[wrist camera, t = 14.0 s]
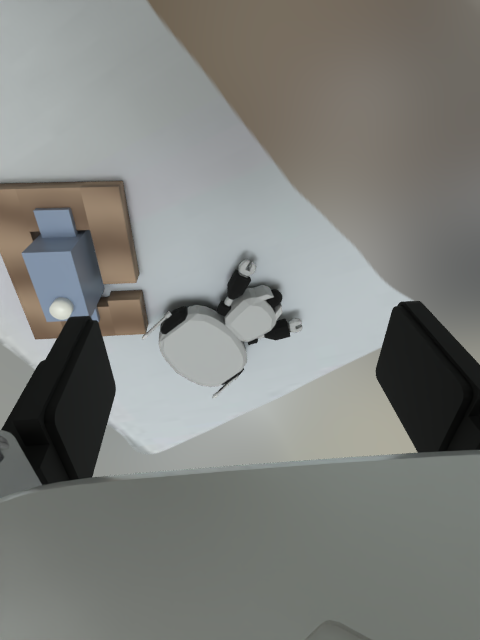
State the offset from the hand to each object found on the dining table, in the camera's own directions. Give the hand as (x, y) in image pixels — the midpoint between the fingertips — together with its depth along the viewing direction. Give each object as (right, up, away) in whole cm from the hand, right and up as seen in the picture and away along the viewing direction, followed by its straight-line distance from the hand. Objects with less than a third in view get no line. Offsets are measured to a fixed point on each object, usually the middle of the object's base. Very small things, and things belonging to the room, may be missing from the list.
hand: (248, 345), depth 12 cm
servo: (-17, +7, +26) cm, 32 cm away
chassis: (-17, +7, +26) cm, 32 cm away
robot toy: (-2, +1, +32) cm, 32 cm away
